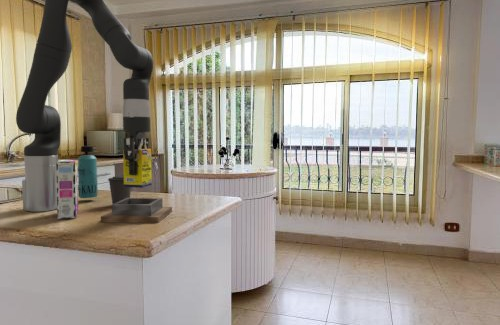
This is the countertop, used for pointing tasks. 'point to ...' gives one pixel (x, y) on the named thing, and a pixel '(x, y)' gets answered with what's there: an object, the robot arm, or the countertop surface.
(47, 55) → the robot arm
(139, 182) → the supplement box
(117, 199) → the coffee cup
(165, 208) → the caddy
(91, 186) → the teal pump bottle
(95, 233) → the countertop surface
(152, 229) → the countertop surface
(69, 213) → the candy bar box
